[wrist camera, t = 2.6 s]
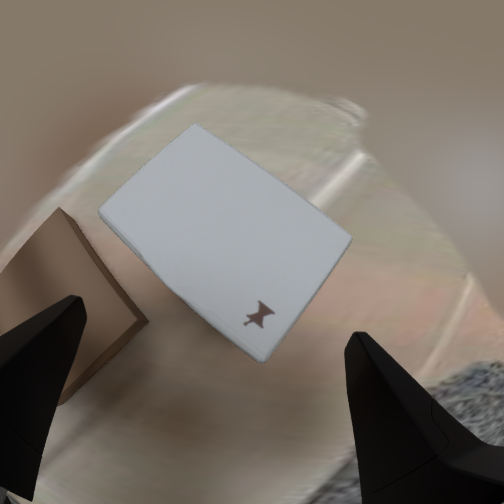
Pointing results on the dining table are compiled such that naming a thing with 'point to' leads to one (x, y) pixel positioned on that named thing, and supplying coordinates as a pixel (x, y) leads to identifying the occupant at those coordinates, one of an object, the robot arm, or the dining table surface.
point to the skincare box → (227, 238)
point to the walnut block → (69, 283)
